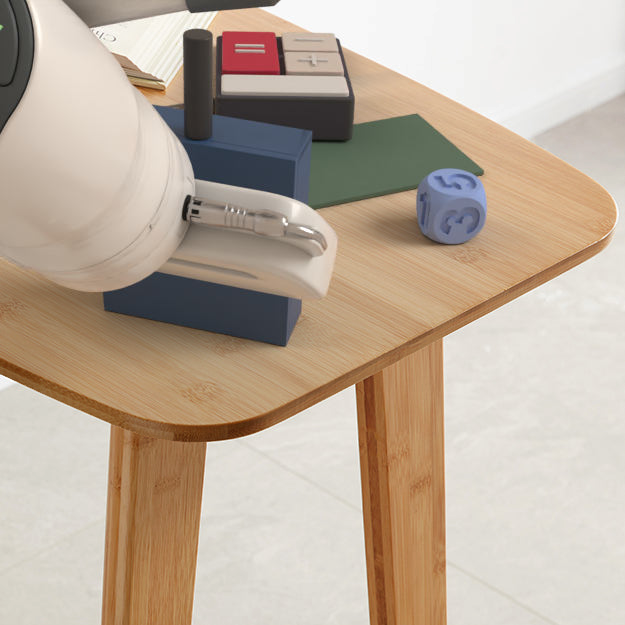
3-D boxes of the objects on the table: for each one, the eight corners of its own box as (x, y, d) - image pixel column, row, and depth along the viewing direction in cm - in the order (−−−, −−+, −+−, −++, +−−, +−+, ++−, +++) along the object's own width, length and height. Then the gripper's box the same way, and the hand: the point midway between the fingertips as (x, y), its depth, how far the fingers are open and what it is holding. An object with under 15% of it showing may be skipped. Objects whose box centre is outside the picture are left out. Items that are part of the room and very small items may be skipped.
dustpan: (285, 346, 70) (301, 58, 59) (103, 310, 72) (84, 24, 61) (301, 312, 73) (318, 31, 62) (126, 277, 75) (111, 0, 64)
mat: (197, 233, 80) (197, 228, 80) (147, 164, 87) (147, 160, 87) (483, 174, 89) (484, 170, 89) (416, 117, 96) (417, 113, 96)
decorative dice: (413, 217, 83) (419, 169, 81) (465, 213, 84) (472, 166, 82) (428, 246, 80) (435, 197, 78) (482, 243, 81) (490, 194, 78)
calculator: (339, 28, 101) (356, 90, 89) (337, 75, 104) (353, 141, 91) (216, 26, 100) (215, 87, 88) (216, 73, 103) (215, 139, 90)
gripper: (333, 159, 49) (363, 235, 62) (-99, 84, 52) (18, 172, 66) (302, 301, 48) (338, 347, 61) (-136, 215, 51) (-10, 277, 65)
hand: (170, 256), depth 63 cm, fingers closed
